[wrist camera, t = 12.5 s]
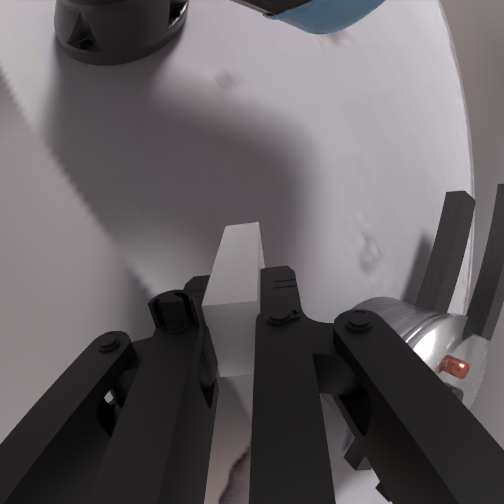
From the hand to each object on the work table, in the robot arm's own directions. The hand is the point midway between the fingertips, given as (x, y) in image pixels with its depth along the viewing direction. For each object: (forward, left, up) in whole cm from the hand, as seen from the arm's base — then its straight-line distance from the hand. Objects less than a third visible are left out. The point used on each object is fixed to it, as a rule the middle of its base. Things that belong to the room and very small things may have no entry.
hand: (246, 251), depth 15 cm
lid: (+19, +17, -5) cm, 26 cm away
